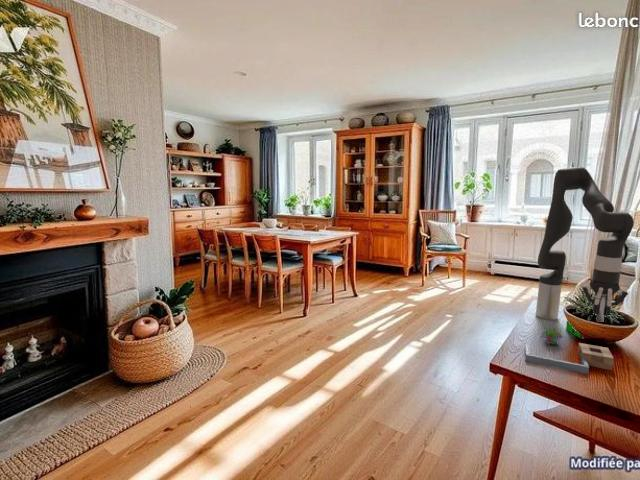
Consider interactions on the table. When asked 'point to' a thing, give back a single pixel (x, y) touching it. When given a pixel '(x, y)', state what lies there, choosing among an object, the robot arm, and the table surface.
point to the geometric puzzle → (552, 336)
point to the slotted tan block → (596, 356)
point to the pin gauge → (601, 308)
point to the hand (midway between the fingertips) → (600, 314)
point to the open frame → (557, 362)
